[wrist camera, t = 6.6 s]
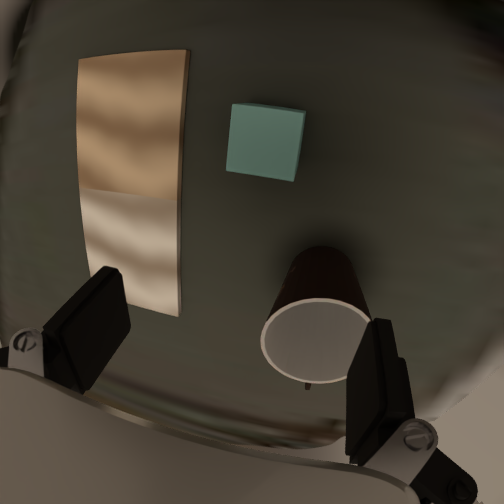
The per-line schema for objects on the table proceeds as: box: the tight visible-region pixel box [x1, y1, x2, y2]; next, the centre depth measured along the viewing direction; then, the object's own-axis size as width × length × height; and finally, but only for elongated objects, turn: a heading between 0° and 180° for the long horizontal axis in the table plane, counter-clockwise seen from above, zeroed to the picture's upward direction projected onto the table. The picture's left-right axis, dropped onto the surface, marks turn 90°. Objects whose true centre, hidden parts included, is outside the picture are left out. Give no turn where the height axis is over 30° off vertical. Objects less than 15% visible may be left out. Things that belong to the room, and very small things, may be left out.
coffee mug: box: [261, 246, 372, 390], centre depth 28 cm, size 12×9×10 cm
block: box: [226, 103, 306, 182], centre depth 24 cm, size 5×5×5 cm
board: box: [77, 50, 190, 317], centre depth 31 cm, size 28×12×1 cm, turn 174°
